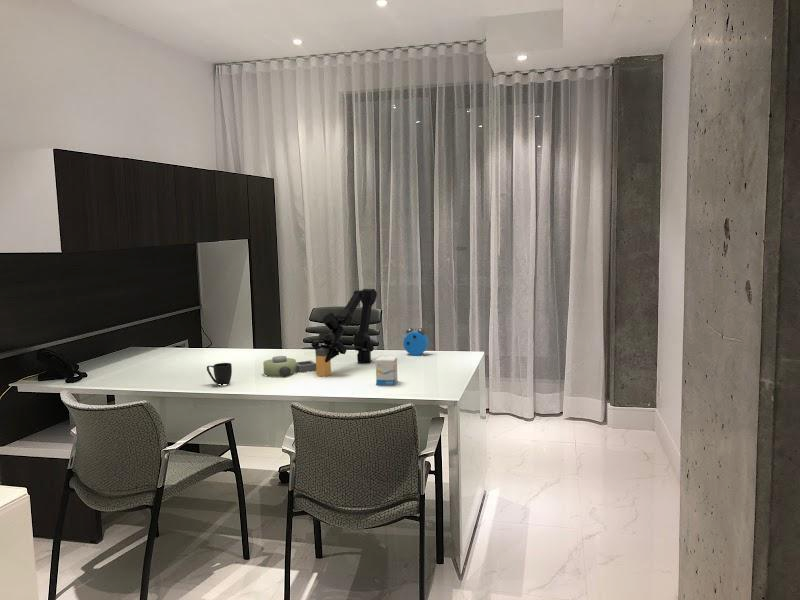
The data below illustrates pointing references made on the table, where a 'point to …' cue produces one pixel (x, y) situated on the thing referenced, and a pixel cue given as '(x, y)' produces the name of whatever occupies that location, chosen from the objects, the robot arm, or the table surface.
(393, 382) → the ink box
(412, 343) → the alarm clock
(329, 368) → the orange bottle
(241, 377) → the table surface
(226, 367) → the mug
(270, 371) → the mower deck
